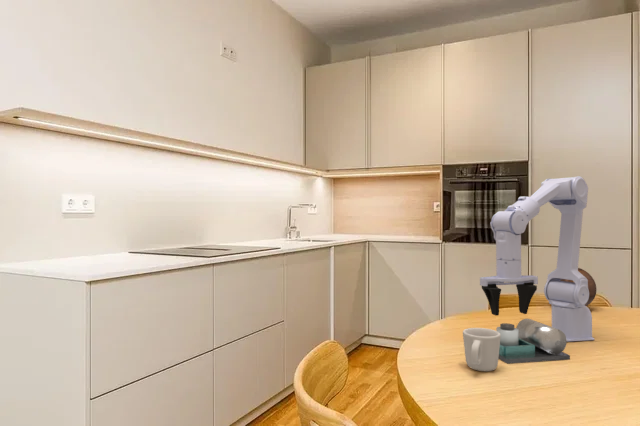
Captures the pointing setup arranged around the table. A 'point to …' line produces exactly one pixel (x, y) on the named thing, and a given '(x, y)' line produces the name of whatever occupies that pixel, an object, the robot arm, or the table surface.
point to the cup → (481, 348)
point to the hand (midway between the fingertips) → (509, 313)
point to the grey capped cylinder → (508, 335)
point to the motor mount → (535, 344)
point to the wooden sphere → (590, 285)
